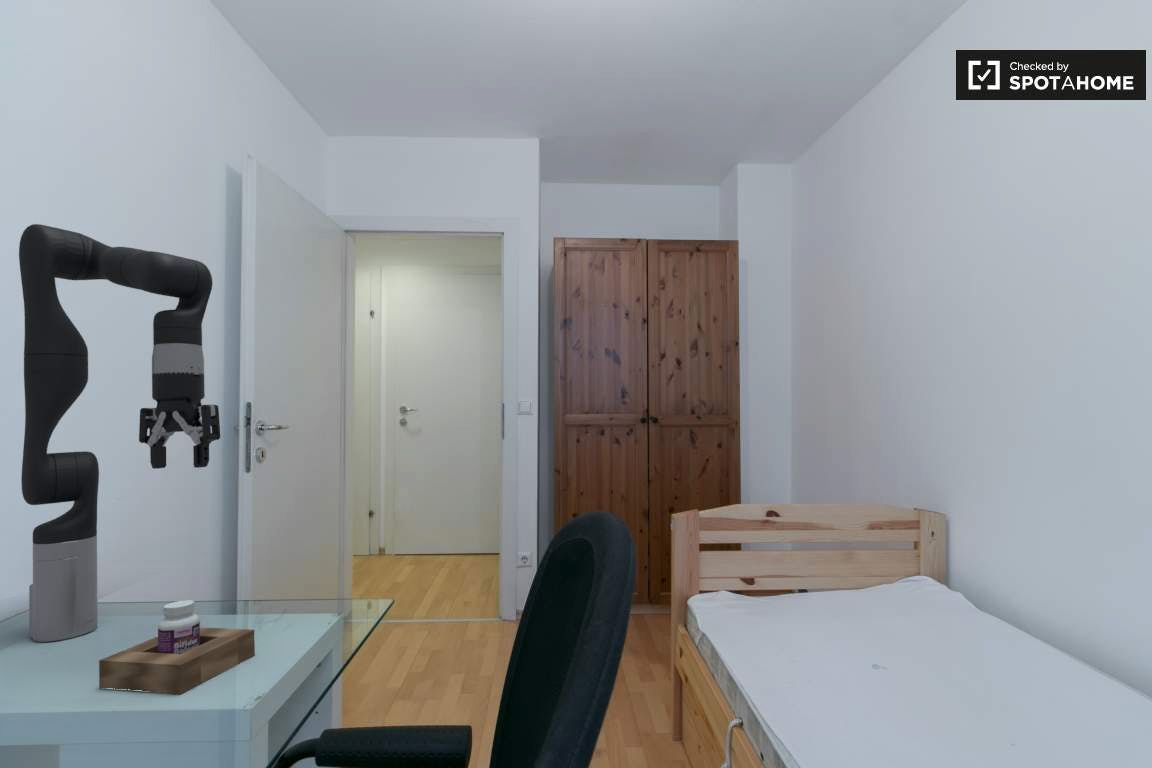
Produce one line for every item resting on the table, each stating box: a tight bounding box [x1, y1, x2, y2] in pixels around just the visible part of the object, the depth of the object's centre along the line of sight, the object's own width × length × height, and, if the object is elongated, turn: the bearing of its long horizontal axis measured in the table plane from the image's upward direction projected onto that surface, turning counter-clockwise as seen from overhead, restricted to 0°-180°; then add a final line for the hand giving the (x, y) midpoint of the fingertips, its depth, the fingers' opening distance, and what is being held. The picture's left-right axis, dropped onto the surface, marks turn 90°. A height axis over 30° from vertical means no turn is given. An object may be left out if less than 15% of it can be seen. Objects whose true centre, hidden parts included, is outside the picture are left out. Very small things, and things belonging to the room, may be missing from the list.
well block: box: [98, 627, 256, 695], centre depth 94 cm, size 14×14×4 cm
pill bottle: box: [157, 599, 201, 654], centre depth 94 cm, size 5×5×10 cm
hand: (179, 467), depth 105 cm, fingers open, 8 cm apart
